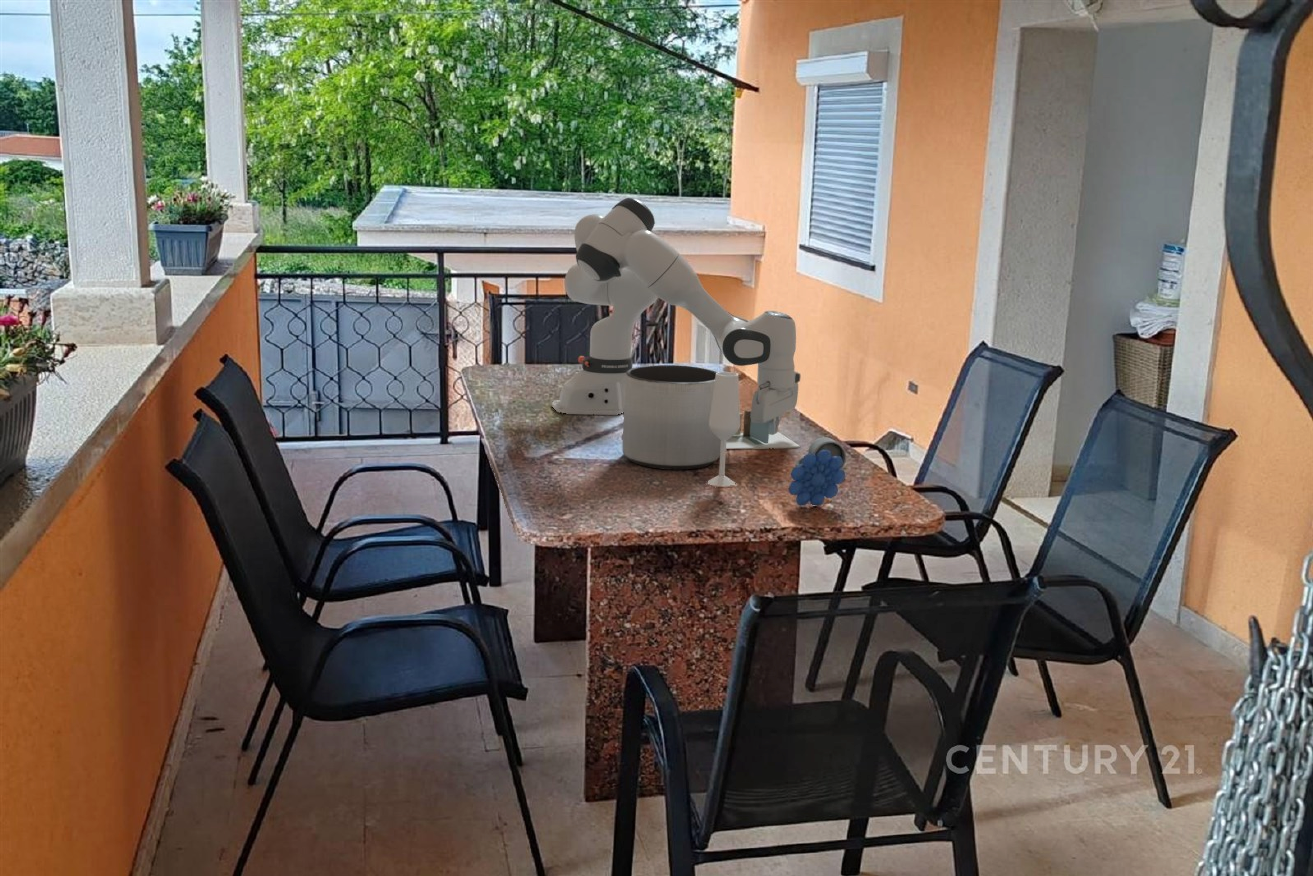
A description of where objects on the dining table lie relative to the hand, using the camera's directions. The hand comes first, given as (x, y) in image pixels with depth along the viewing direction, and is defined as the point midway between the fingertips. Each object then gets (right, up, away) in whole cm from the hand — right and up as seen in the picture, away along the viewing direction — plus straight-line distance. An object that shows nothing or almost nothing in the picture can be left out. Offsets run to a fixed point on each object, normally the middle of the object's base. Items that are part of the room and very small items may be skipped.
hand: (772, 433), depth 299 cm
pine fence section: (-11, -1, +5) cm, 12 cm away
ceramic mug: (+8, -9, -22) cm, 25 cm away
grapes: (+4, -15, -50) cm, 52 cm away
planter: (-25, -6, -17) cm, 31 cm away
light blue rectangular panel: (-3, -1, +1) cm, 4 cm away
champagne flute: (-14, -11, -37) cm, 41 cm away
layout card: (-6, -2, +2) cm, 6 cm away
